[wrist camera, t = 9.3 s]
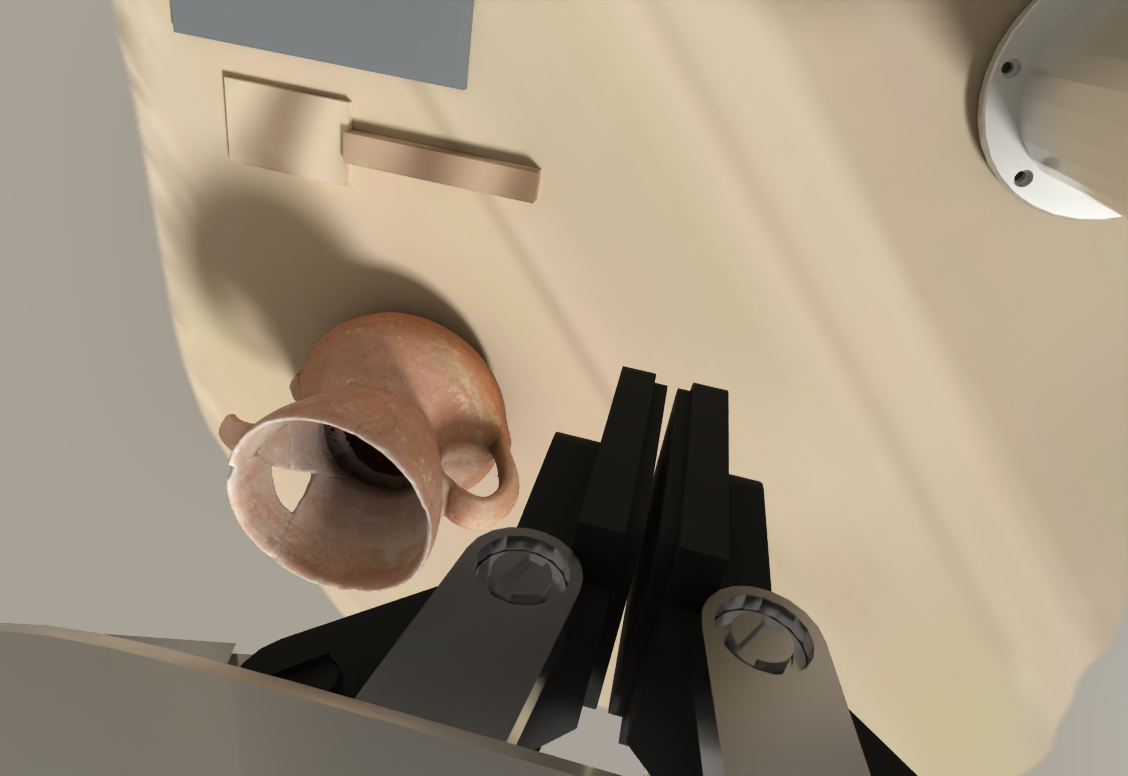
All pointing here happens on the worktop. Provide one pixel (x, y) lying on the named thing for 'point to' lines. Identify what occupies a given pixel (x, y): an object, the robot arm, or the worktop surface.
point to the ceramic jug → (374, 453)
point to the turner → (349, 144)
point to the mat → (345, 32)
